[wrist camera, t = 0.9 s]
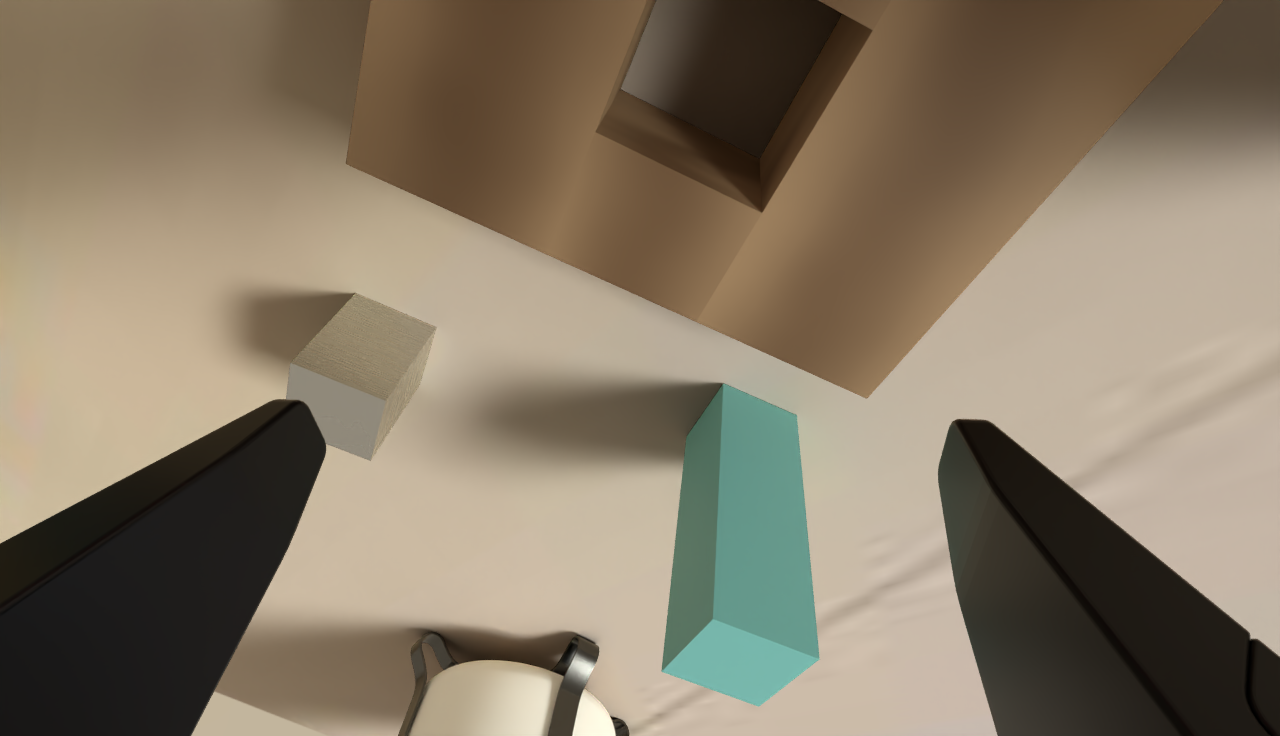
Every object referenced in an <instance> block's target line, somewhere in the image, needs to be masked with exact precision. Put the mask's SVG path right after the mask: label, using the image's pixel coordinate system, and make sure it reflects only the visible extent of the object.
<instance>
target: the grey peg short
mask: <svg viewBox="0 0 1280 736" xmlns="http://www.w3.org/2000/svg"><path fill="white" fill-rule="evenodd" d="M436 328H437V327H435V326H433V325H430V324H428V323H426V322H423V321H421V320H418V319H416V318H414V317H411V316H409V315H407V314H404V313H402V312H399V311H397V310H395V309H392V308H390V307H388V306H385V305H383V304H380V303H378V302H376V301H373V300H371V299H369V298H366V297H364V296H362V295H359V294H357V293H355V294H354V295H353V297H352V298H351V299H350V300H349V301H348V302H347V303H346V304H345V305H344V306H343V307H342V308H341V309H340V310H339V311H338V313H337V314H336V315H335V316H334V317H333V318H332V319H331V320H330V321H329V322H328V323H327V324H326V325H325V326H324V327H323V329H322V330H321V331H320V332H319V333H318V334H317V335H316V336H315V337H314V338H313V339H312V340H311V341H310V342H309V343H308V345H307V346H306V347H305V348H304V349H303V350H302V351H301V352H300V353H299V354H298V355H297V356H296V357H295V358H294V359H293V361H292V362H291V363H290V370H289V378H288V386H287V395H286V399H290V400H301V401H303V402H305V403H306V404H307V405H308V407H309V408H310V410H311V412H312V414H313V416H314V418H315V420H316V422H317V425H318V427H319V429H320V431H321V433H322V435H323V437H324V439H325V443H326V444H328V445H331V446H333V447H336V448H338V449H341V450H344V451H346V452H349V453H351V454H354V455H357V456H359V457H362V458H364V459H367V460H370V461H371V460H372V458H373V456H374V455H375V453H376V452H377V450H378V449H379V447H380V446H381V444H382V442H383V441H384V439H385V438H386V436H387V435H388V433H389V432H390V430H391V428H392V427H393V425H394V424H395V422H396V421H397V419H398V418H399V416H400V414H401V413H402V411H403V410H404V408H405V407H406V405H407V404H408V402H409V400H410V399H411V397H412V396H413V394H414V393H415V391H416V390H417V388H418V386H419V385H420V382H421V379H422V375H423V372H424V369H425V365H426V362H427V358H428V355H429V352H430V348H431V345H432V341H433V338H434V334H435V331H436Z"/></svg>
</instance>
